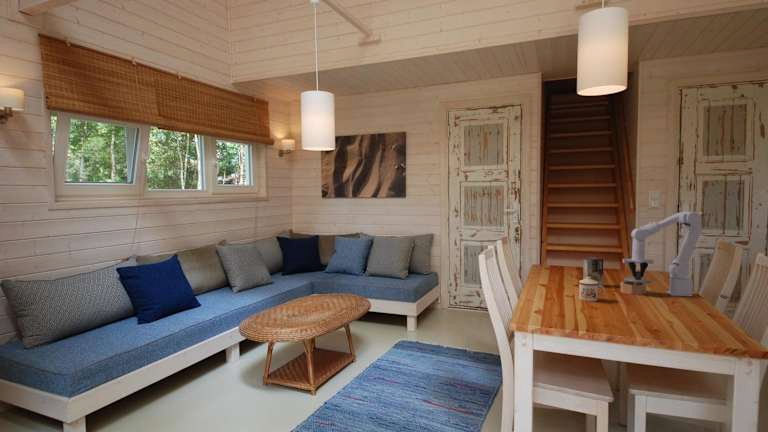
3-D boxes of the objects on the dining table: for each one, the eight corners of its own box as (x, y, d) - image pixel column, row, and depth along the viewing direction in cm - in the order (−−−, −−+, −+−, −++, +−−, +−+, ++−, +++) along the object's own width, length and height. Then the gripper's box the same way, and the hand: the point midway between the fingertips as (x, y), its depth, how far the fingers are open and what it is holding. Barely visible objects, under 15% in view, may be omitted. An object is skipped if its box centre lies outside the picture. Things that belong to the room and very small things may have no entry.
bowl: (640, 290, 239) (640, 281, 238) (647, 295, 228) (648, 285, 228) (618, 289, 241) (618, 280, 241) (624, 294, 230) (625, 285, 230)
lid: (645, 279, 237) (645, 270, 237) (656, 283, 224) (656, 274, 224) (620, 278, 239) (620, 269, 239) (629, 282, 226) (629, 273, 226)
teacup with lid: (578, 300, 219) (579, 277, 218) (578, 296, 227) (578, 274, 226) (605, 303, 214) (605, 279, 213) (604, 298, 222) (604, 276, 222)
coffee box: (598, 284, 254) (599, 257, 253) (603, 287, 247) (603, 259, 246) (582, 284, 255) (583, 257, 254) (586, 287, 248) (587, 259, 247)
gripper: (625, 252, 228) (625, 277, 229) (656, 252, 225) (655, 278, 226) (621, 250, 235) (621, 275, 236) (651, 250, 232) (650, 276, 233)
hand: (637, 276), depth 232 cm, fingers closed on lid, 3 cm apart
